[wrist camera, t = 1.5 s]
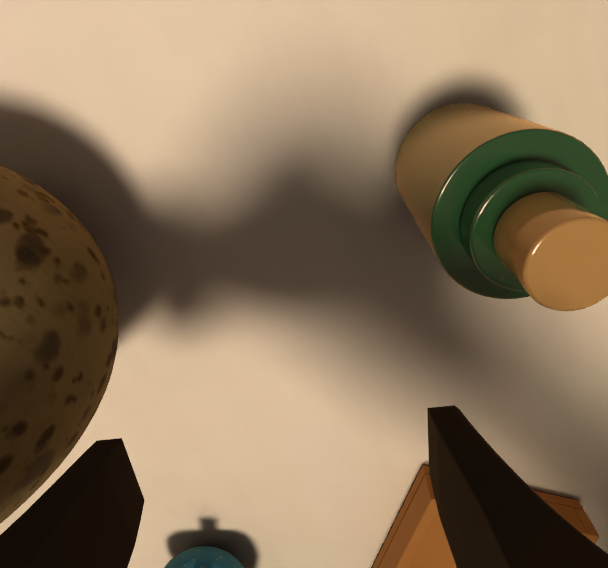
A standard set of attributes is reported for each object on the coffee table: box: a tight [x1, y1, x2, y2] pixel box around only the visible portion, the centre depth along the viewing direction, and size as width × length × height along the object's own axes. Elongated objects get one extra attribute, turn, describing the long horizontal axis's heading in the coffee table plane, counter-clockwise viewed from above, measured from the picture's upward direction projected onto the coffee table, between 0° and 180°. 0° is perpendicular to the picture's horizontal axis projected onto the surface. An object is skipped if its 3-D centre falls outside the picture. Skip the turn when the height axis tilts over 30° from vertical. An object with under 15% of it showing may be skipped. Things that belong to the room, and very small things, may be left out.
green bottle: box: [396, 103, 608, 311], centre depth 14 cm, size 4×4×10 cm
